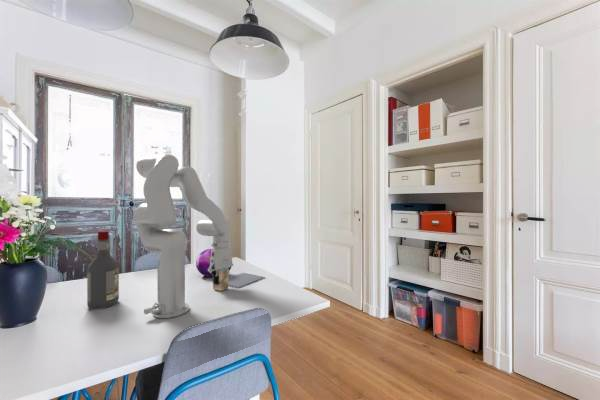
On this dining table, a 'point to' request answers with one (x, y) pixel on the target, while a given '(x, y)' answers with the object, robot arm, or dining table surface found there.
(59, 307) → the dining table surface
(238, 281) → the slate mat
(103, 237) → the liquor
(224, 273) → the maple block
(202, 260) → the decorative orb
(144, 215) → the robot arm
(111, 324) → the dining table surface
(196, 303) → the dining table surface
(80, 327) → the dining table surface
